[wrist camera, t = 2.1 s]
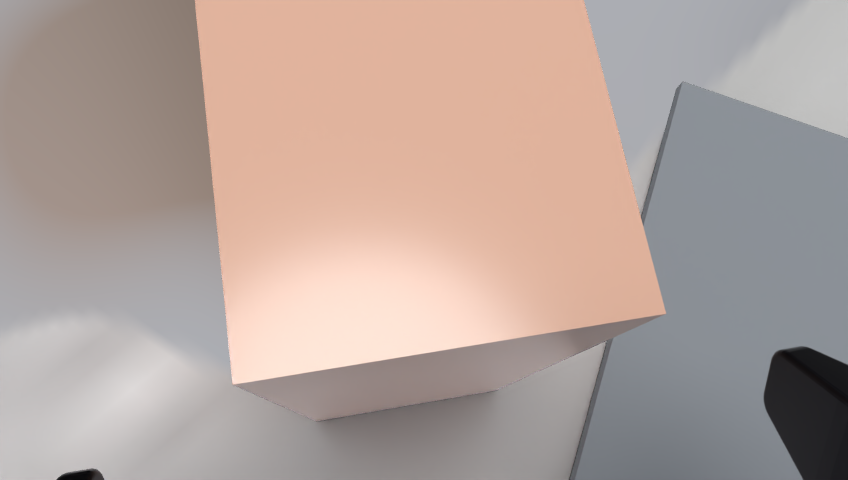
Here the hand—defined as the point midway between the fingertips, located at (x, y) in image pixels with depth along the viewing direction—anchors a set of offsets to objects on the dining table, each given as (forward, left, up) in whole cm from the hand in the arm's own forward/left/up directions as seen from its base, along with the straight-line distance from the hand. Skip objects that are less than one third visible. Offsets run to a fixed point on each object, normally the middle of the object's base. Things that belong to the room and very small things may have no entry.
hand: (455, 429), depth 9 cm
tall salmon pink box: (+3, +2, -10) cm, 11 cm away
